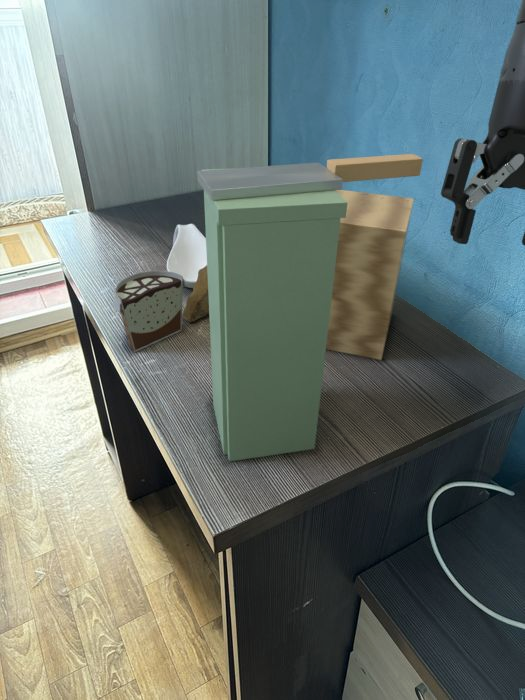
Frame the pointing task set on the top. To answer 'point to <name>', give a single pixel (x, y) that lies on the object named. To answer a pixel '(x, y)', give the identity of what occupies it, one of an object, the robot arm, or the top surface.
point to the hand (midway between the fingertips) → (495, 244)
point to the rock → (198, 298)
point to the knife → (304, 176)
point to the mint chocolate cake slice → (150, 306)
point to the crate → (367, 272)
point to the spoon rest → (187, 253)
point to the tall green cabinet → (270, 316)
